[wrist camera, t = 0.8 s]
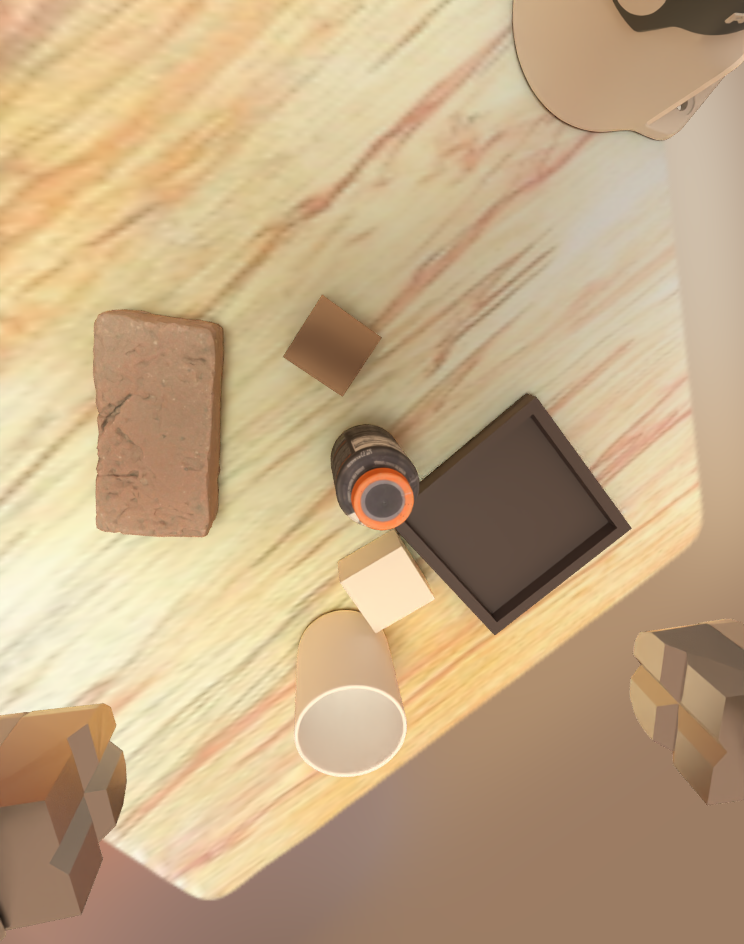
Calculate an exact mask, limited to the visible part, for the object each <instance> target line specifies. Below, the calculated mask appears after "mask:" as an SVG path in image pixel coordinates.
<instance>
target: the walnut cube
mask: <svg viewBox="0 0 744 944" xmlns="http://www.w3.org/2000/svg"><path fill="white" fill-rule="evenodd" d="M380 339H381V337H380V336H379V335H377V334H376V333H375V332H373V331H372V330H370V329H369V328H368V327H366V326H365V325H363V324H362V323H361V322H359V321H358V320H357V319H355V318H354V317H352V316H351V315H350V314H348V313H347V312H345V311H344V310H343V309H341V308H340V307H338V306H337V305H336V304H334V303H333V302H332V301H330V300H329V299H327V298H326V297H325V296H323V295H322V296H321V297H320V299H319V300H318V302H317V304H316V305H315V307H314V308H313V310H312V312H311V313H310V315H309V316H308V318H307V319H306V321H305V323H304V324H303V326H302V327H301V329H300V331H299V332H298V334H297V335H296V337H295V339H294V340H293V342H292V343H291V345H290V346H289V348H288V350H287V351H286V353H285V354H284V356H283V357H284V358H286V359H287V360H289V361H290V362H292V363H293V364H295V365H296V366H298V367H299V368H300V369H302V370H303V371H305V372H306V373H308V374H309V375H311V376H312V377H314V378H315V379H317V380H318V381H320V382H321V383H323V384H324V385H326V386H327V387H329V388H330V389H332V390H333V391H335V392H336V393H338V394H339V395H341V396H343V395H344V393H345V392H346V390H347V389H348V387H349V386H350V384H351V383H352V381H353V380H354V378H355V377H356V375H357V374H358V372H359V371H360V369H361V368H362V366H363V365H364V363H365V362H366V360H367V359H368V357H369V356H370V354H371V353H372V351H373V350H374V348H375V347H376V345H377V344H378V342H379V341H380Z"/></svg>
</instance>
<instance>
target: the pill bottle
mask: <svg viewBox="0 0 744 944" xmlns="http://www.w3.org/2000/svg"><path fill="white" fill-rule="evenodd" d="M331 469H332V473H333V479H334V484H335V489H336V495H337V499H338V502H339V505H340V507H341V509H342V510H343V511H344V513H345V514H346V515H347V516H348V517H349V518H351V519H352V520H353V521H355V522H357V523H359V524H361V525H364V526H367V527H369V528H372V529H376V530H389V529H393V528H395V527H397V526H399V525H400V524H402V523H403V522H404V521H405V520H406V519H407V518H408V516H409V515H410V513H411V511H412V508H413V506H414V505H415V503H416V500H417V497H418V494H419V477H418V474H417V471H416V469H415V467H414V465H413V464H412V462H411V461H410V460H409V458H408V457H407V456H406V454H405V453H404V451H403V450H402V449H401V448H400V446H399V445H398V444H397V442H396V441H395V439H394V438H393V437H392V436H391V435H390V434H389V433H388V432H387V431H385V430H384V429H382V428H380V427H377V426H373V425H359V426H355V427H353V428H350V429H348V430H347V431H345V432H344V433H343V434H342V435H341V436H340V437H339V438H338V439H337V441H336V442H335V444H334V446H333V449H332V453H331Z"/></svg>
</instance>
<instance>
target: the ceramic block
mask: <svg viewBox="0 0 744 944" xmlns="http://www.w3.org/2000/svg"><path fill="white" fill-rule="evenodd" d="M338 570H339V578H340V583H341V585H342V586H343V588H344V589H345V590H346V592H347V593H348V595H349V596H350V598H351V599H352V600H353V602H354V603H355V605H356V606H357V607H358V609H359V610H360V612H361V613H362V615H363V616H364V617H365V619H366V620H367V622H368V623H369V624H370V626H371V627H372V629H373V630H374V632H375V633H377V632H379V631H381V630H383V629H384V628H386V627H388V626H389V625H391V624H393V623H395V622H396V621H398V620H400V619H401V618H403V617H405V616H407V615H408V614H410V613H412V612H414V611H415V610H417V609H419V608H420V607H422V606H424V605H426V604H427V603H429V602H431V601H433V600H434V599H435V598H434V596H433V593H432V591H431V589H430V587H429V585H428V582H427V580H426V578H425V576H424V575H423V573H422V571H421V570H420V568H419V567H418V565H417V564H416V562H415V560H414V559H413V557H412V556H411V554H410V552H409V551H408V549H407V548H406V546H405V544H404V543H403V541H402V540H401V538H400V537H399V535H398V533H397V532H396V530H395V529H392V530H390V531H389V532H387V533H385V534H384V535H382V536H380V537H379V538H377V539H375V540H373V541H372V542H370V543H368V544H367V545H365V546H363V547H362V548H360V549H358V550H357V551H355V552H353V553H351V554H350V555H348V556H346V557H345V558H343V559H341V560H340V561H338Z"/></svg>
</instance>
